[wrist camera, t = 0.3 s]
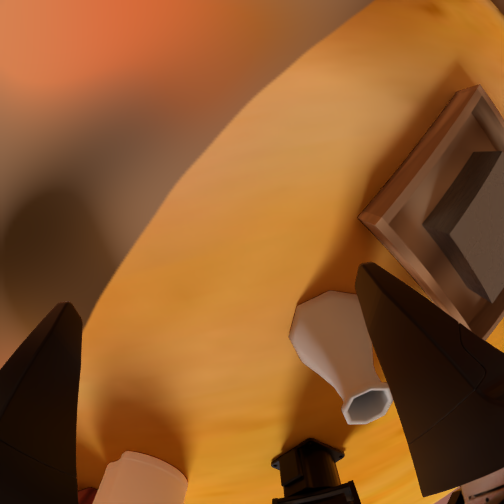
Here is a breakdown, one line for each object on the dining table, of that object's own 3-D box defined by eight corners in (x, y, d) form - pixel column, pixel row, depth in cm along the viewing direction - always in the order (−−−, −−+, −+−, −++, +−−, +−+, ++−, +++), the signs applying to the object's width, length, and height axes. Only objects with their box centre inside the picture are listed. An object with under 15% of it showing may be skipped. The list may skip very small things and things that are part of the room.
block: (512, 220, 21) (538, 227, 17) (467, 288, 23) (492, 303, 19) (473, 151, 20) (502, 151, 16) (421, 224, 21) (449, 234, 17)
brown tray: (533, 224, 22) (553, 230, 19) (458, 335, 25) (476, 350, 21) (456, 91, 19) (479, 84, 16) (357, 217, 22) (374, 225, 18)
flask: (284, 295, 23) (305, 372, 14) (370, 282, 23) (432, 342, 14) (291, 369, 25) (308, 454, 15) (368, 354, 25) (412, 428, 15)
